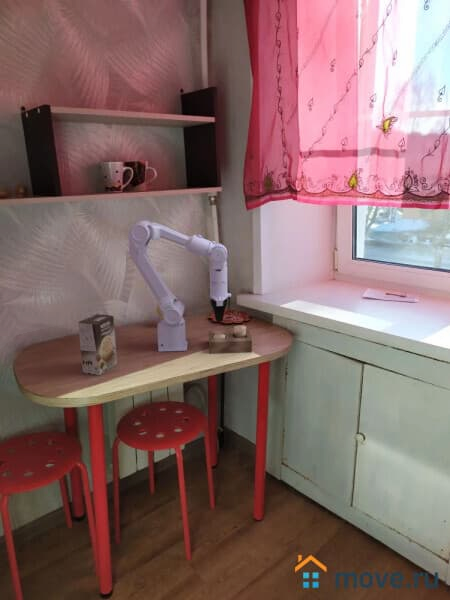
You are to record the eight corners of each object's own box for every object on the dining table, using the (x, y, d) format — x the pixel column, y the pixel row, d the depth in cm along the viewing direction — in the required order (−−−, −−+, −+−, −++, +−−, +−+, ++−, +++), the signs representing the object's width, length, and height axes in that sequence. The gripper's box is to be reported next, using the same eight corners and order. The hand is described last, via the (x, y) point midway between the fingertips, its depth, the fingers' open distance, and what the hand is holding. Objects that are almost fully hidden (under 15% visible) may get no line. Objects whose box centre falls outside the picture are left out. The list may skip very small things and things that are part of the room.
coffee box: (100, 376, 137) (95, 324, 132) (82, 373, 139) (76, 322, 135) (117, 364, 145) (113, 315, 141) (100, 361, 147) (96, 313, 143)
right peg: (234, 339, 155) (234, 329, 154) (233, 335, 159) (233, 325, 158) (246, 338, 156) (246, 328, 155) (245, 334, 159) (245, 325, 158)
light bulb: (154, 328, 178) (152, 302, 175) (163, 323, 183) (162, 298, 181) (167, 330, 175) (166, 305, 172) (177, 325, 181) (176, 300, 178)
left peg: (213, 347, 156) (213, 338, 155) (213, 343, 160) (213, 333, 159) (225, 347, 156) (225, 337, 155) (225, 343, 160) (224, 333, 159)
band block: (209, 353, 153) (209, 342, 152) (209, 341, 163) (208, 330, 162) (251, 352, 153) (251, 340, 152) (248, 340, 164) (248, 329, 163)
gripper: (232, 286, 145) (232, 327, 149) (229, 276, 159) (230, 314, 163) (209, 286, 145) (210, 328, 148) (209, 276, 159) (209, 314, 162)
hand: (219, 320), depth 155 cm, fingers closed
